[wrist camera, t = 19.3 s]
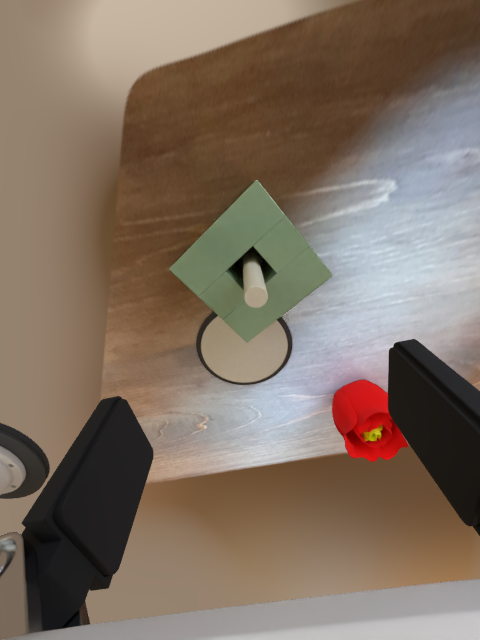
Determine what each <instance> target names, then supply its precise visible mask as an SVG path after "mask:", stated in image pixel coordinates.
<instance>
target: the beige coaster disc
mask: <svg viewBox="0 0 480 640" xmlns="http://www.w3.org/2000/svg"><path fill="white" fill-rule="evenodd" d="M291 350H292V337H291V333H290V330H289V328H288V326H287V324H286V323H285V321H284V320H283V319H282V318H281V317H280V318H278V319H277V320H276V321H275V322H273V323H272V324H271V325H269V326H268V327H267V328H266V329H264V330H263V331H262V332H261V333H259V334H258V335H257V336H255V337H254V338H253V339H252V340H250V341H249V342H248V343H247V342H246V341H244V340H243V339H242V338H241V337H240V336H239V335H238V334H237V333H236V332H235V331H234V330H233V329H232V328H231V327H230V326H229V325H227V324H226V323H225V322H224V321H223V319H221V318H220V317H219V316H218V315H217V314H216V313H215V312H213V313H212V314H211V315H210V316H209V317H208V318H207V319H206V320H205V321H204V323H203V324H202V326H201V328H200V330H199V333H198V336H197V352H198V356H199V358H200V360H201V362H202V364H203V365H204V367H205V368H206V369H207V370H208V371H209V372H210V373H211V374H212V375H214V376H215V377H217V378H219V379H221V380H223V381H225V382H229V383H232V384H239V385H249V384H256V383H260V382H263V381H265V380H267V379H269V378H271V377H273V376H274V375H276V374H277V373H278V372H279V371H280V370H281V369H282V368H283V367H284V366H285V364H286V363H287V361H288V359H289V357H290V354H291Z"/></svg>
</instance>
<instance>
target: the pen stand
mask: <svg viewBox="0 0 480 640" xmlns="http://www.w3.org/2000/svg"><path fill="white" fill-rule="evenodd" d="M252 246H253V247H254V248H255V249H256V250H257V251H258V252H259V253H260V255H261V256H262V257H263V258H264V259H265V260H266V262H265V263H264V264H263V265H261V266H260V267H261V271H262V275H263V279H264V282H265V286H266V290H267V294H268V299H267V302H266V303H265V304H264V305H263V306H262V307H259V308H252V307H250V306H248V305H247V304H246V302H245V300H244V281H243V271H242V270H241V269H240V268H239V267H238V266H237V265H236V264H235V262H236V261H237V260H238V259H239V258H240V257H242V256H243V255H244V254H245V253H246V252H247V251H248V250H249V249H250V248H251V247H252ZM169 270H170V271H171V272H172V273H173V274H174V275H176V276H177V277H178V278H179V279H180V280H181V281H182V282H183V283H184V284H185V285H186V286H187V287H188V288H189V289H190V290H191V291H193V292H194V293H195V294H196V295H197V296H198V297H199V298H200V299H201V300H202V301H203V302H204V303H205V304H206V305H207V306H208V307H210V308H211V309H212V310H213V311H214V312H215V313H216V314H217V315H218V316H219V317H220V318H221V319H223V321H224V322H225V323H226V324H227V325H229V326H230V327H231V328H232V329H233V330H234V331H235V332H236V333H237V334H238V335H239V336H240V337H241V338H242V339H243V340H244V341H246V342H247V343H248V342H249V341H250V340H252V339H253V338H254V337H255V336H257V335H258V334H259V333H261V332H262V331H263V330H264V329H266V328H267V327H268V326H269V325H271V324H272V323H273V322H275V321H276V320H277V319H278V318H280V317H281V316H282V315H283V314H285V313H286V312H287V311H289V310H290V309H291V308H292V307H294V306H295V305H296V304H297V303H299V302H300V301H301V300H303V299H304V298H305V297H306V296H308V295H309V294H310V293H312V292H313V291H314V290H315V289H317V288H318V287H319V286H320V285H322V284H323V283H324V282H326V281H327V280H328V279H329V278H331V277H332V276H333V275H332V273H331V272H330V271H329V270H328V268H327V267H326V266H325V265H324V263H323V262H322V261H321V260H320V258H319V257H318V256H317V254H316V253H315V252H314V251H313V249H312V248H311V247H310V246H309V244H308V243H307V242H306V241H305V239H304V238H303V237H302V236H301V234H300V233H299V232H298V230H297V229H296V228H295V227H294V225H293V224H292V223H291V222H290V220H289V219H288V218H287V217H286V216H285V214H284V213H283V212H282V210H281V209H280V208H279V207H278V205H277V204H276V203H275V201H274V200H273V199H272V198H271V196H270V195H269V194H268V193H267V191H266V190H265V189H264V188H263V186H262V185H261V184H260V183H259V181H258V180H255V181H253V182H252V183H251V184H250V185H249V186H248V187H247V188H246V189H245V190H244V191H243V192H242V193H241V194H240V195H239V196H238V197H237V198H236V199H235V200H234V201H233V203H232V204H231V205H230V206H229V207H228V208H227V209H226V210H225V211H224V212H223V213H222V214H221V215H220V216H219V217H218V218H217V219H216V220H215V221H214V222H213V223H212V224H211V225H210V226H209V227H208V228H207V229H206V230H205V231H204V232H203V233H202V234H201V235H200V236H199V237H198V238H197V239H196V240H195V241H194V242H193V243H192V244H191V245H190V246H189V247H188V248H187V249H186V250H185V252H184V253H183V254H182V255H181V256H180V257H179V258H178V259H177V260H176V261H175V263H174V264H173V265H172V266H171V267H170V268H169Z"/></svg>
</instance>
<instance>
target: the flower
mask: <svg viewBox="0 0 480 640" xmlns="http://www.w3.org/2000/svg"><path fill="white" fill-rule="evenodd" d="M332 414H333V419H334V423H335V426H336V428H337V429H338V431H339V432H340V434H341V435H342V436H343V438H344V440H345V447H346V450H347V451H348V454H349V455H350V456H351V457H353V458H357V457H364V458H366V459H368V460H369V461H371V462H374V461H376V460H377V459H378V457H381V458H383V459H385V460H387V459H390V458H392V457H394V456H395V455H396V453H397V452H398V450H399V449H400V448H402V447H408V444H407V442H406V440H405V438H404V437H403V435H402V433H401V431H400V430H399V428H398V427H397V425H396V424H395V423H394V421H393V420H392V418H391V416H390V414H389V411H388V394H387V393H386V392H385V391H384V390H383V389H382V388H380V387H379V386H378V385H376V384H373V383H371V382H369V381H367V380H358V381H355V382H352V383H349V384H347V385H345V386H343V387H342V388H341V389H339V390H338V391H337V392H336V393H335V395H334V399H333V404H332Z"/></svg>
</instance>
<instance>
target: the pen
mask: <svg viewBox="0 0 480 640" xmlns="http://www.w3.org/2000/svg"><path fill="white" fill-rule="evenodd" d="M239 264H240V266H241V267H242V268H243V281H244V300H245V302H246V304H247V305H248V306H250V307H252V308H259V307H262V306H263V305H264V304H265V303H266V302H267V299H268V294H267V290H266V286H265V282H264V279H263V275H262V271H261V267H260V266H261V264H262V256H261V255H260V253H259V252H258V251H257V250H256V249H255V248H254V247H253V246H252V247H251V248H250V249H249V250H248V251H247V252H246V253H245V254H244V255H243V256H242V257H240V258H239Z"/></svg>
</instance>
